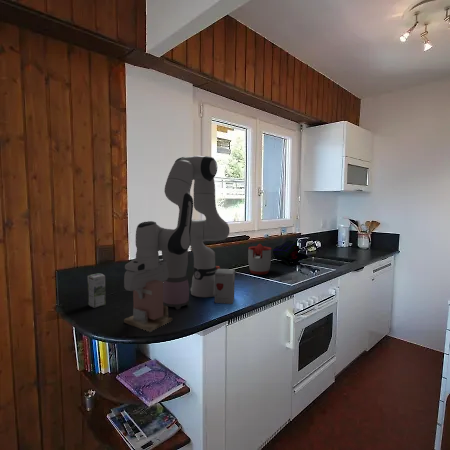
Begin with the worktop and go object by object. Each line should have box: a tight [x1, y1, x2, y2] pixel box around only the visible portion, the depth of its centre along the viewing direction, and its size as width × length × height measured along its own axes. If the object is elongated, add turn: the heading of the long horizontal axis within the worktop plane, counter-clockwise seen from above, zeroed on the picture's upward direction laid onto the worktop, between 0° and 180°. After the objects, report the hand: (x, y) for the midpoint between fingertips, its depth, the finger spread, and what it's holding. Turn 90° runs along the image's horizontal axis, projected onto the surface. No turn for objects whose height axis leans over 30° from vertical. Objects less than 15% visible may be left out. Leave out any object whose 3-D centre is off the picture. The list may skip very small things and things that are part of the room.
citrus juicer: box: [247, 243, 272, 276], centre depth 201 cm, size 16×17×20 cm
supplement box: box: [214, 268, 236, 305], centre depth 148 cm, size 9×9×15 cm
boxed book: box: [132, 280, 164, 320], centre depth 122 cm, size 5×12×14 cm, turn 56°
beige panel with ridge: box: [123, 305, 173, 333], centre depth 122 cm, size 12×15×6 cm
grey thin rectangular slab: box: [132, 307, 148, 325], centre depth 119 cm, size 1×7×5 cm, turn 56°
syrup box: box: [87, 273, 107, 309], centre depth 140 cm, size 6×6×14 cm
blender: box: [161, 249, 190, 310], centre depth 142 cm, size 16×12×32 cm
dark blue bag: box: [272, 239, 309, 267], centre depth 226 cm, size 21×26×30 cm
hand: (148, 296), depth 121 cm, fingers closed on boxed book, 5 cm apart
